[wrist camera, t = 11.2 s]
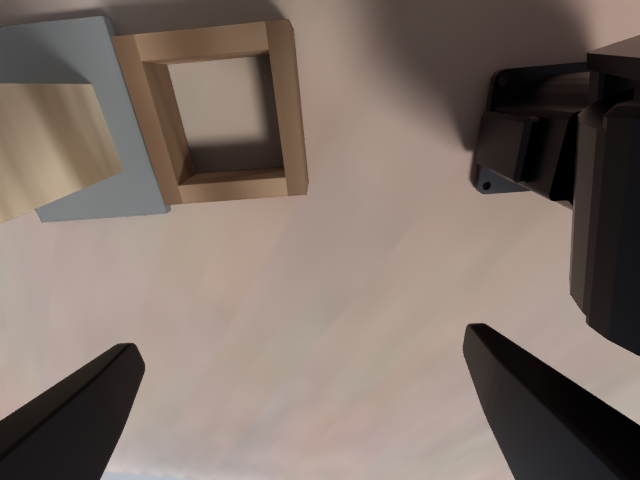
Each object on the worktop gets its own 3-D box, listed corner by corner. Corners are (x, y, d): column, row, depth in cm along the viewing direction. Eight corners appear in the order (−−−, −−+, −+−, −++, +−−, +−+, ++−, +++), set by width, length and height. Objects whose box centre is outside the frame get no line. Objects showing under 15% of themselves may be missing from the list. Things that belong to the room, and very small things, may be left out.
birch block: (91, 84, 16) (-99, 82, 9) (123, 171, 18) (-10, 228, 11) (8, 91, 16) (-247, 96, 9) (48, 177, 18) (-132, 236, 11)
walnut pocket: (293, 28, 15) (288, 18, 13) (308, 181, 19) (306, 194, 16) (141, 43, 16) (110, 36, 13) (183, 191, 19) (165, 205, 17)
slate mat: (110, 18, 15) (102, 15, 15) (170, 209, 20) (166, 213, 19) (-45, 33, 15) (-58, 32, 15) (49, 218, 20) (41, 222, 19)
